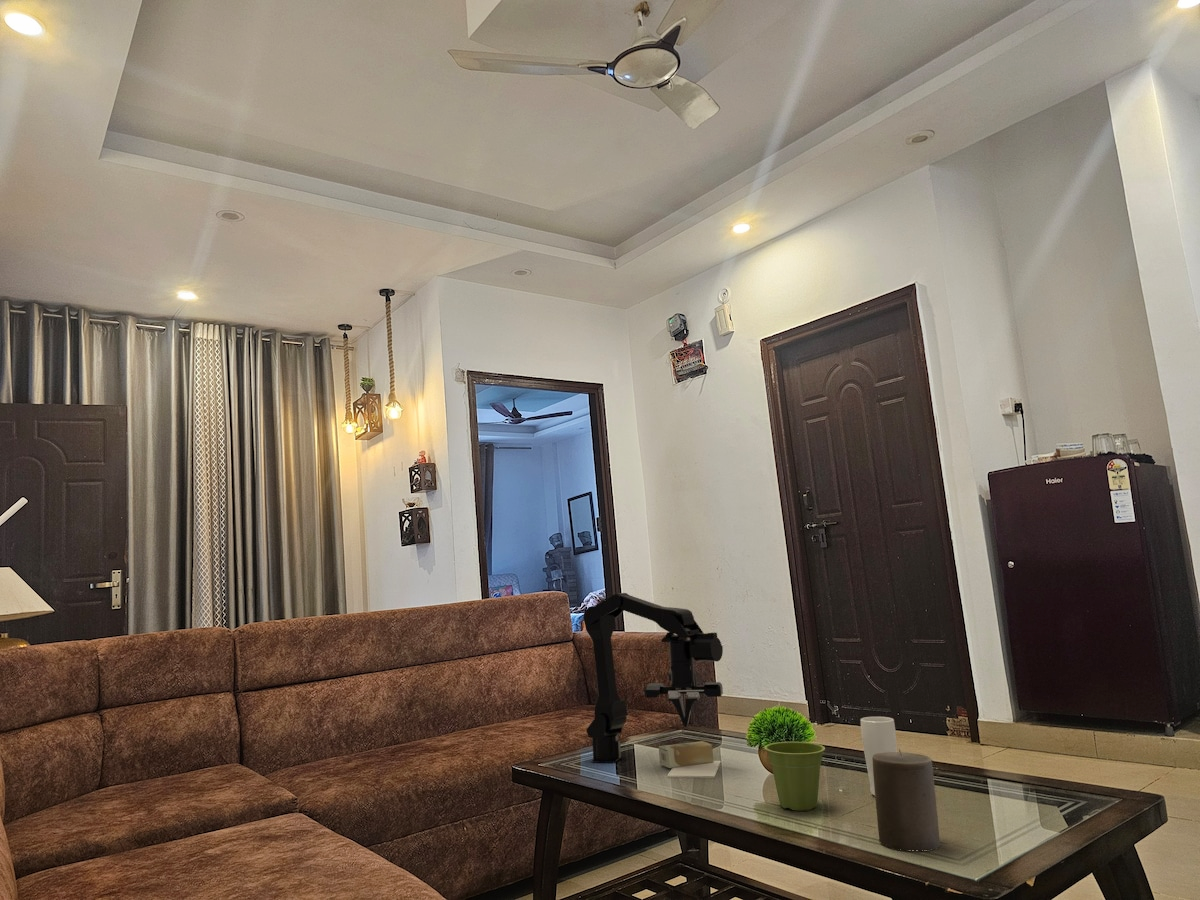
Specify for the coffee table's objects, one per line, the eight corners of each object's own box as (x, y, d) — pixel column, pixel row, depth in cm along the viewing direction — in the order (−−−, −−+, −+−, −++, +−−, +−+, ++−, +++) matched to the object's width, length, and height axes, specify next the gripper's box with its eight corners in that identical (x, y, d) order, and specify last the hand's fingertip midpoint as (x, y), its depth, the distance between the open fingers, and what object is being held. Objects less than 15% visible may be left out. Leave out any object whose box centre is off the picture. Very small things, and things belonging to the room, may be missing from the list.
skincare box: (657, 745, 199) (701, 740, 204) (658, 764, 199) (702, 758, 203) (668, 750, 193) (713, 744, 198) (669, 768, 193) (714, 762, 197)
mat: (667, 777, 186) (667, 775, 186) (677, 762, 201) (677, 760, 201) (714, 777, 183) (714, 775, 184) (720, 762, 199) (720, 760, 199)
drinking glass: (886, 789, 166) (878, 715, 169) (909, 797, 160) (901, 719, 163) (860, 794, 164) (852, 718, 166) (883, 801, 158) (875, 723, 160)
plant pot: (792, 818, 150) (786, 755, 151) (757, 804, 160) (753, 745, 162) (843, 809, 154) (837, 748, 156) (806, 795, 165) (801, 739, 167)
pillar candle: (884, 852, 129) (875, 755, 132) (874, 833, 139) (867, 743, 141) (947, 853, 127) (937, 755, 130) (933, 834, 137) (924, 743, 139)
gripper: (722, 656, 203) (726, 720, 200) (650, 658, 207) (653, 721, 204) (718, 661, 192) (723, 728, 189) (642, 663, 196) (646, 729, 194)
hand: (685, 726), depth 194 cm, fingers closed
